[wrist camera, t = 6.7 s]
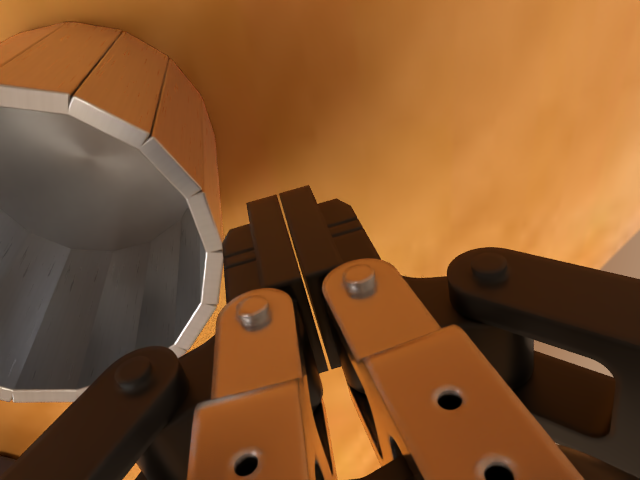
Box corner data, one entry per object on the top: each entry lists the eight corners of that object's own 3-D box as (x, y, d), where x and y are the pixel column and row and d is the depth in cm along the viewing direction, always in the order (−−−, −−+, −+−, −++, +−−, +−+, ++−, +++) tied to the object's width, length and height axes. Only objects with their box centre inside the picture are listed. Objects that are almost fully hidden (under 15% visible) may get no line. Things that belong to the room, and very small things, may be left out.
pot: (122, -42, 10) (-366, 73, 10) (272, 385, 16) (-18, 471, 16) (154, -51, 18) (-116, 12, 17) (248, 242, 24) (52, 297, 24)
